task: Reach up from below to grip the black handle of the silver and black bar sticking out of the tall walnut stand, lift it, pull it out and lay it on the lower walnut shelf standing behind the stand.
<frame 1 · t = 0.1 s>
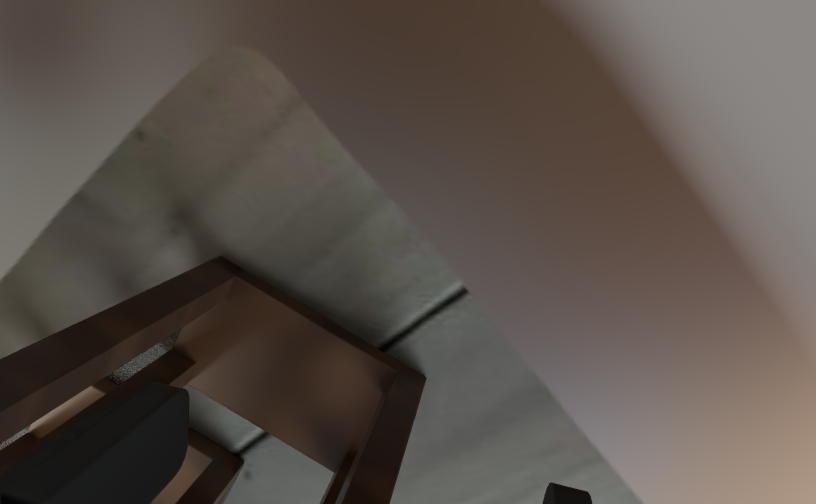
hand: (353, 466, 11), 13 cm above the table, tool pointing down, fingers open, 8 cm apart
rod stand: (335, 393, 26), on the table
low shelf: (172, 472, 29), on the table
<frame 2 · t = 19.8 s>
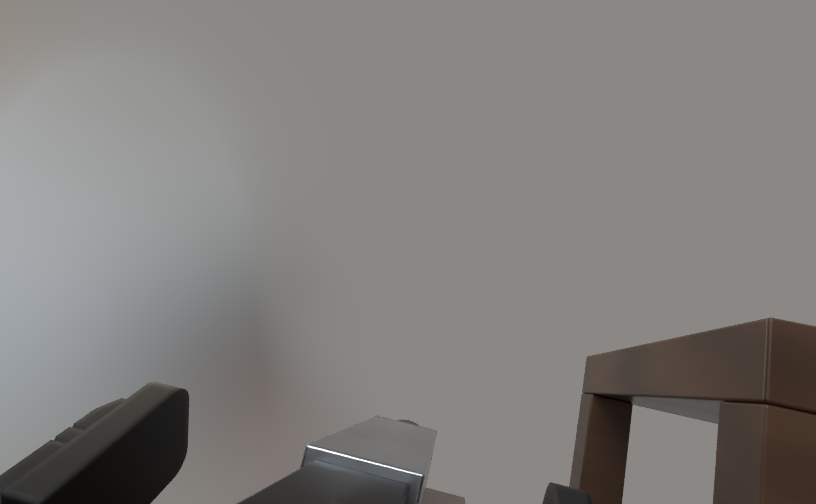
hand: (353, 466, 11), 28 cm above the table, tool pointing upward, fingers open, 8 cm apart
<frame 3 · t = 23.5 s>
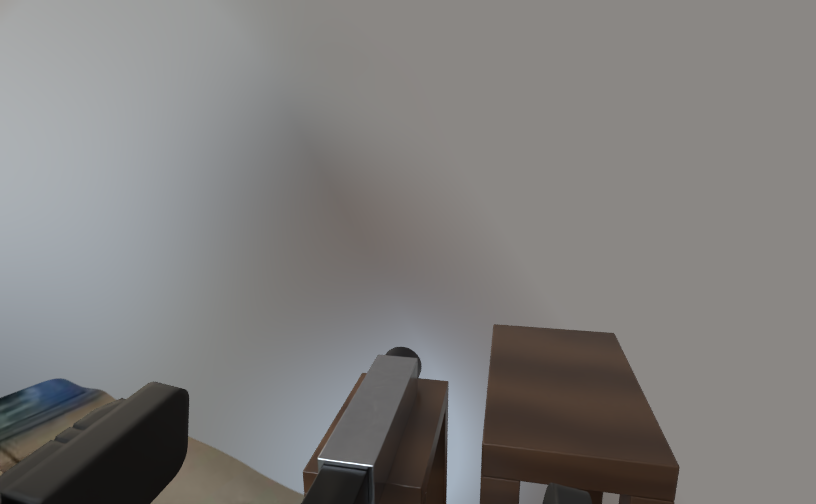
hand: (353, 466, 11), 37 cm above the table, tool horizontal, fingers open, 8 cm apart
silver and black bar: (377, 441, 31), point 24 cm above the table, touching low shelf
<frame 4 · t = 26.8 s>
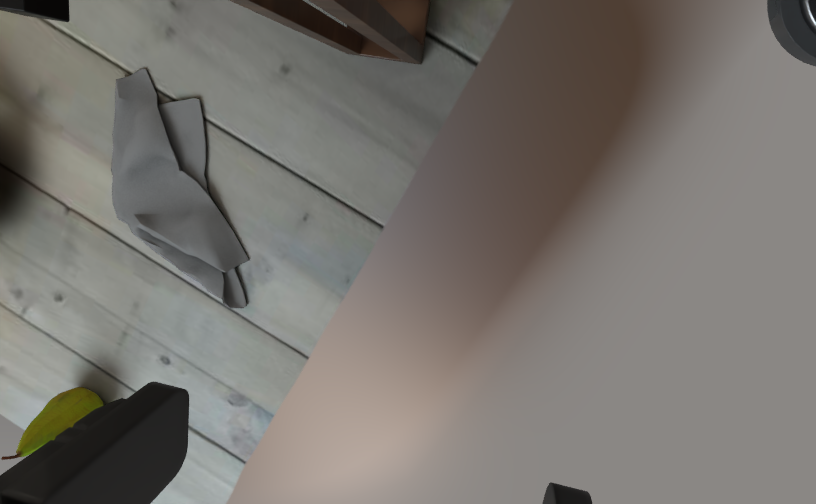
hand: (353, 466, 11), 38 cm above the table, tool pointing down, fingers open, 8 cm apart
rod stand: (389, 17, 44), on the table
fruit: (94, 400, 62), on the table
cloth: (173, 198, 53), on the table
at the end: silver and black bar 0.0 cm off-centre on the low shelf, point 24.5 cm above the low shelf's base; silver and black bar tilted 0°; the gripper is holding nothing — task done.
